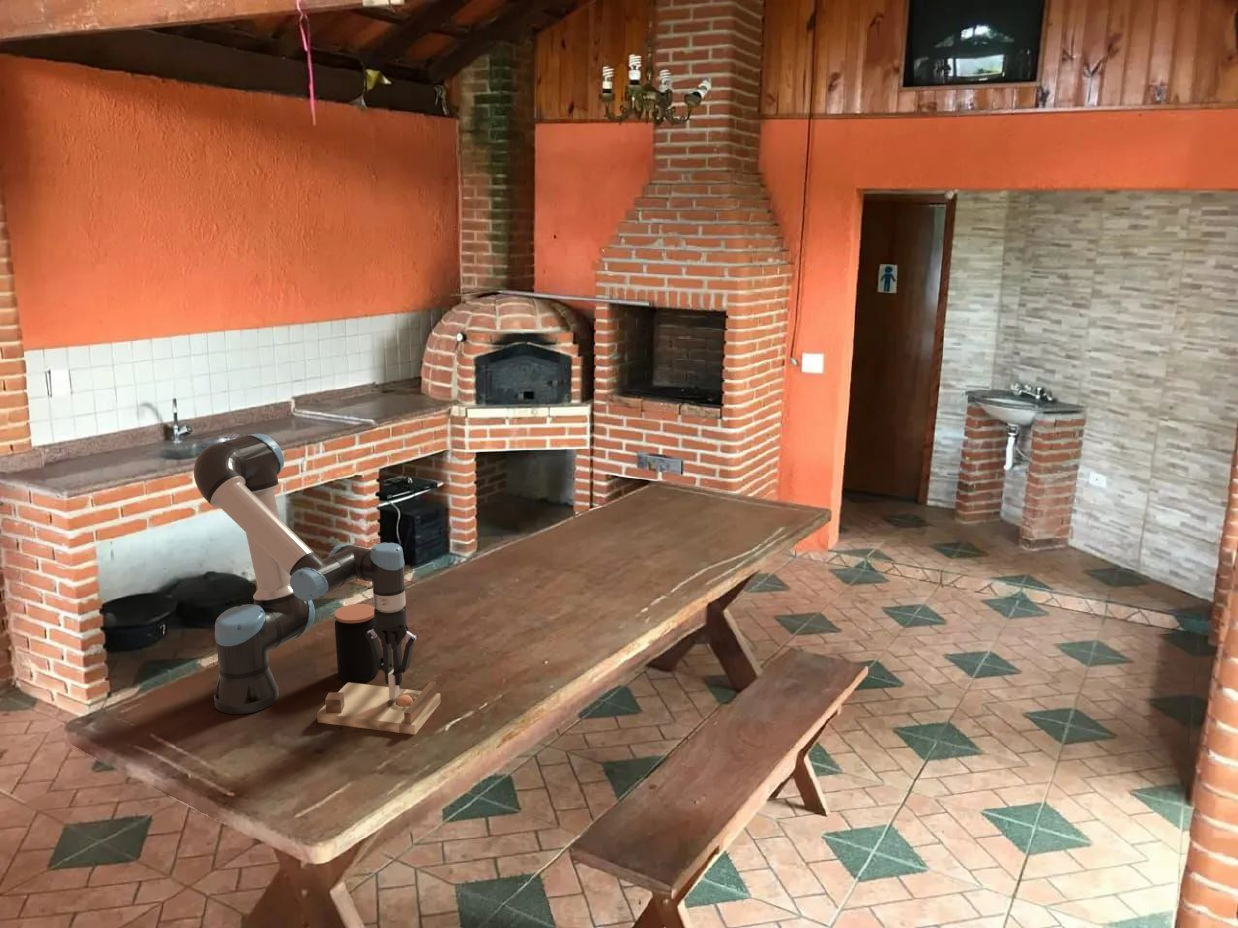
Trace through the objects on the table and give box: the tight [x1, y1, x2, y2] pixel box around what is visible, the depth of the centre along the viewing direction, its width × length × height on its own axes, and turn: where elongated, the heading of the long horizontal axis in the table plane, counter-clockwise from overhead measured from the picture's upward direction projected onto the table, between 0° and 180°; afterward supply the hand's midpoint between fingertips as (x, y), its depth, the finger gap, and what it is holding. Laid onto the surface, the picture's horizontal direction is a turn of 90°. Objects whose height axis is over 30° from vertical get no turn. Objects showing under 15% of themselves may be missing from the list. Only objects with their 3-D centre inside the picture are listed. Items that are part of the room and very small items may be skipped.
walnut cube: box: [324, 691, 344, 713], centre depth 244 cm, size 4×4×4 cm
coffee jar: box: [333, 603, 380, 684], centre depth 265 cm, size 11×11×18 cm
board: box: [316, 680, 442, 736], centre depth 248 cm, size 25×16×6 cm, turn 78°
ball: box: [397, 695, 413, 707], centre depth 249 cm, size 4×4×4 cm
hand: (394, 696), depth 249 cm, fingers closed
